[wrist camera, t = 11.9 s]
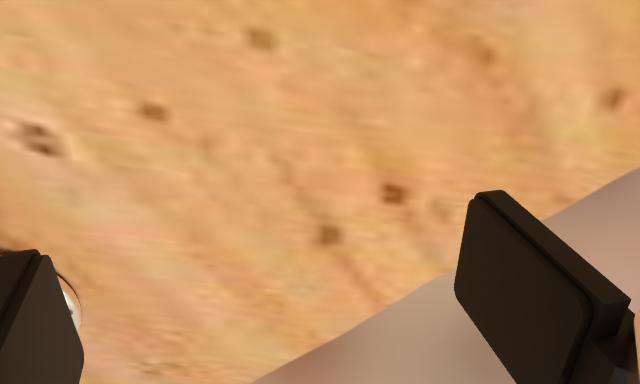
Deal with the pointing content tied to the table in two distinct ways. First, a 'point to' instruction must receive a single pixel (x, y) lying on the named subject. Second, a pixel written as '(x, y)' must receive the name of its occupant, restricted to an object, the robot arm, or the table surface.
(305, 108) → the table surface
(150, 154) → the table surface
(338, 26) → the table surface
